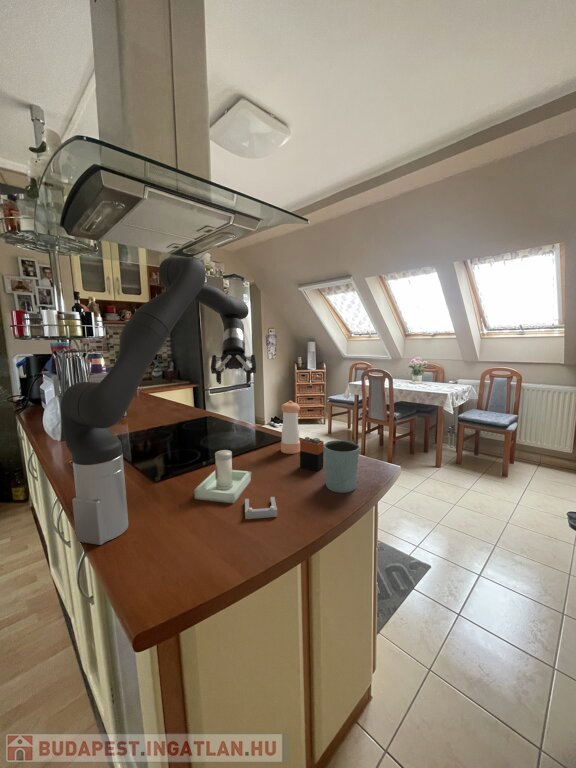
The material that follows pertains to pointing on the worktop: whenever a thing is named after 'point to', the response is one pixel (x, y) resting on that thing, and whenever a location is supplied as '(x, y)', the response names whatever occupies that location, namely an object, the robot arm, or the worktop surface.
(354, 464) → the teal cup
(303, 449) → the battery
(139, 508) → the worktop surface
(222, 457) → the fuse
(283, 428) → the salt shaker
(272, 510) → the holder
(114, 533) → the robot arm
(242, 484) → the tray
